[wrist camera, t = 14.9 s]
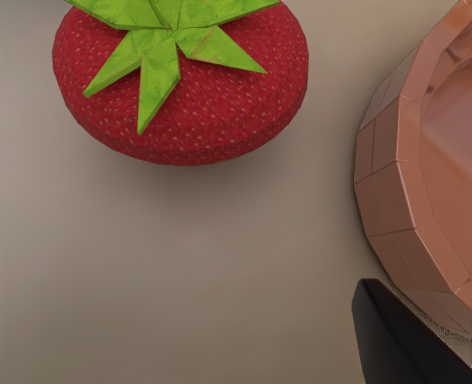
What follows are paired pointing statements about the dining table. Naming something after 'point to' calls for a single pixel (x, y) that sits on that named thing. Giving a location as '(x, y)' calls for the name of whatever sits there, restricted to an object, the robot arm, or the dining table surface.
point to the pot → (424, 172)
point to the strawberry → (181, 75)
